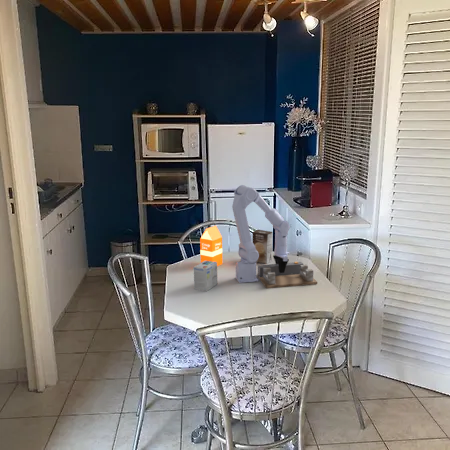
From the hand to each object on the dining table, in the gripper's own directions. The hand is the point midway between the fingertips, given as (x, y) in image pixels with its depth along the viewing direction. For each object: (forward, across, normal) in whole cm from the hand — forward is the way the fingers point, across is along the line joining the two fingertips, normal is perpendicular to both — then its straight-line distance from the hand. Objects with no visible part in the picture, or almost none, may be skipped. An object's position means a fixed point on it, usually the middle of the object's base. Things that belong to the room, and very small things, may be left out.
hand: (280, 271), depth 229 cm
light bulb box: (+2, -9, +38) cm, 39 cm away
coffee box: (+2, +22, +3) cm, 22 cm away
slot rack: (+1, -11, 0) cm, 11 cm away
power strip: (+2, 0, 0) cm, 2 cm away
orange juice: (+2, +22, +30) cm, 37 cm away
